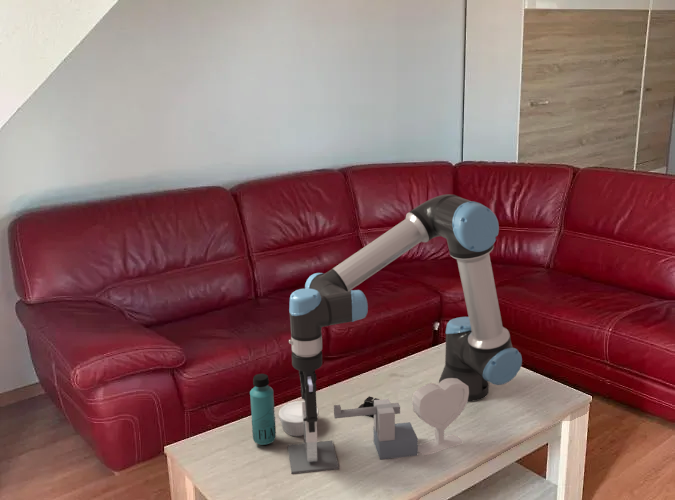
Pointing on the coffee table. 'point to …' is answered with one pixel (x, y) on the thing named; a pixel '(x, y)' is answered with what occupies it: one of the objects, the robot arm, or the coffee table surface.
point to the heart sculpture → (440, 411)
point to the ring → (309, 445)
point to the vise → (386, 429)
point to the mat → (324, 462)
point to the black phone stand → (368, 404)
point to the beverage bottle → (262, 410)
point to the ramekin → (293, 418)
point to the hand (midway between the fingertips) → (309, 431)
